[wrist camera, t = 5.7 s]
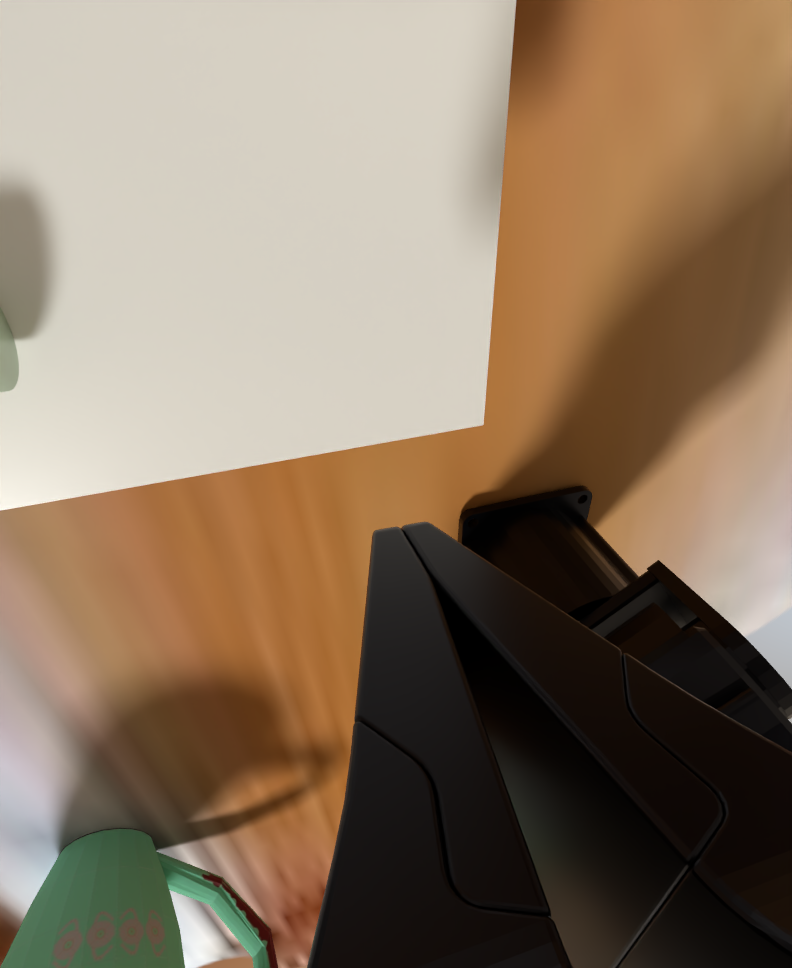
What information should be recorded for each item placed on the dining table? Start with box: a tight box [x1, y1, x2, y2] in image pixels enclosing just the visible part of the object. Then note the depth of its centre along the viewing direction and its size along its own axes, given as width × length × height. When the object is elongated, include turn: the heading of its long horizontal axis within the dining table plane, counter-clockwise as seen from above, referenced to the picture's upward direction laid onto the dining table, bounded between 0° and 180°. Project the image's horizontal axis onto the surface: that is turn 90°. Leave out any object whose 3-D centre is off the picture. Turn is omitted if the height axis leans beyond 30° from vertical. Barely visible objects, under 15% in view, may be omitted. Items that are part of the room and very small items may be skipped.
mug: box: [1, 829, 278, 968], centre depth 28 cm, size 15×10×10 cm
